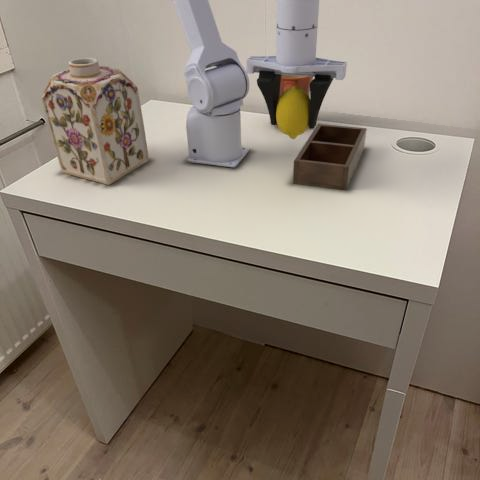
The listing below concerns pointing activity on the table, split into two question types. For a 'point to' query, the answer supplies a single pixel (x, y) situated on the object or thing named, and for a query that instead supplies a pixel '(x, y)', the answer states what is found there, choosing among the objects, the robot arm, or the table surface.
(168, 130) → the table surface
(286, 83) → the mug
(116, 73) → the decorative jar
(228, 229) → the table surface
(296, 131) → the lemon
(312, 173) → the caddy
